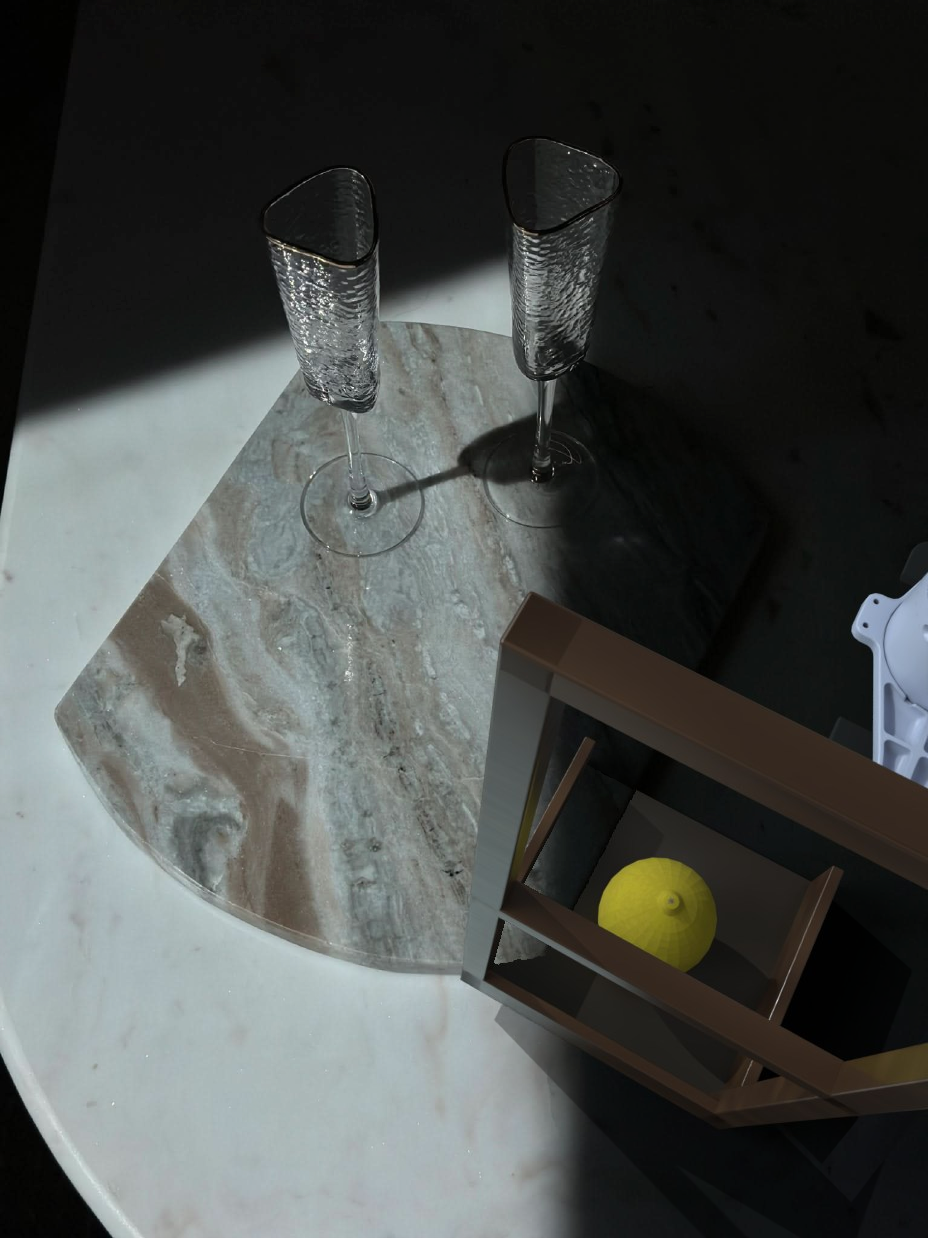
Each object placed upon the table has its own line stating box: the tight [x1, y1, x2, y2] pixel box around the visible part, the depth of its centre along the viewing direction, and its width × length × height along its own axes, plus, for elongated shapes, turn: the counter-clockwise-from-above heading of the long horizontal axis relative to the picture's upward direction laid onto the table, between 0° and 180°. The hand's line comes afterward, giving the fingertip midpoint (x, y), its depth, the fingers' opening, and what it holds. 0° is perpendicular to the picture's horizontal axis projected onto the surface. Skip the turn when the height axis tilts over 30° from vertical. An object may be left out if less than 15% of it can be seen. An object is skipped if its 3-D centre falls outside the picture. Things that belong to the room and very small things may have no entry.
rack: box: [459, 590, 928, 1130], centre depth 40 cm, size 13×14×42 cm
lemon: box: [598, 858, 717, 973], centre depth 55 cm, size 6×6×8 cm
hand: (877, 731), depth 54 cm, fingers open, 7 cm apart
